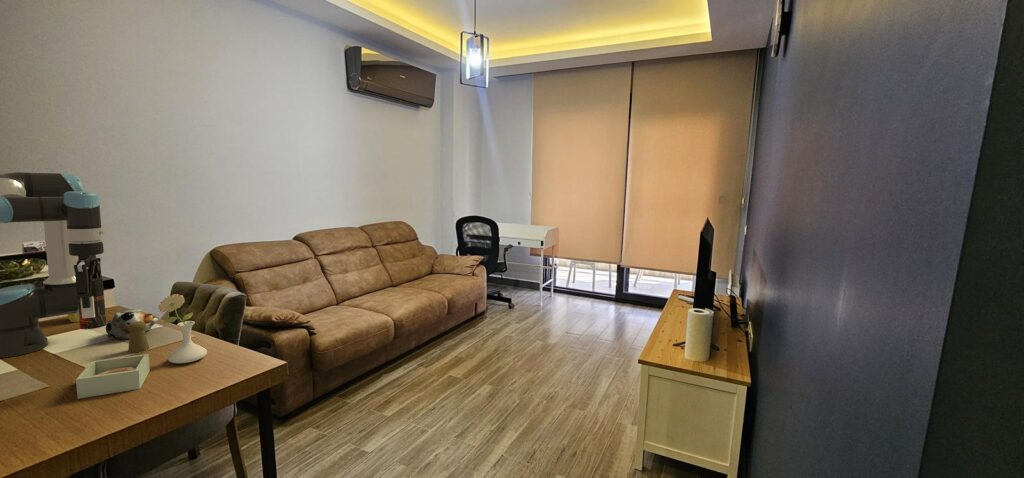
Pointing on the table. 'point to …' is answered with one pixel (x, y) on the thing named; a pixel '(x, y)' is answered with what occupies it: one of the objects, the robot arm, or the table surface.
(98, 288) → the deodorant
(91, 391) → the open box
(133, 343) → the cork
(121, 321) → the lucky cat figurine
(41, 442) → the table surface
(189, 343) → the flower in vase
